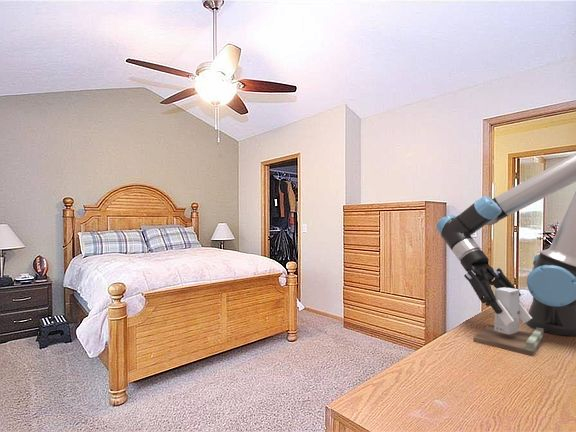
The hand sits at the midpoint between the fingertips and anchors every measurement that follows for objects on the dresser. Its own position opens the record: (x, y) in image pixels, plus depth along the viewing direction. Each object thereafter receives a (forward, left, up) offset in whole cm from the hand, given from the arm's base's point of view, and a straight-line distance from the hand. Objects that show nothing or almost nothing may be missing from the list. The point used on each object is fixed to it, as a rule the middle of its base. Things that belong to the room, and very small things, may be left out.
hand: (519, 321), depth 97 cm
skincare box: (+1, -4, -4) cm, 5 cm away
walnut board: (+1, -3, -6) cm, 7 cm away
